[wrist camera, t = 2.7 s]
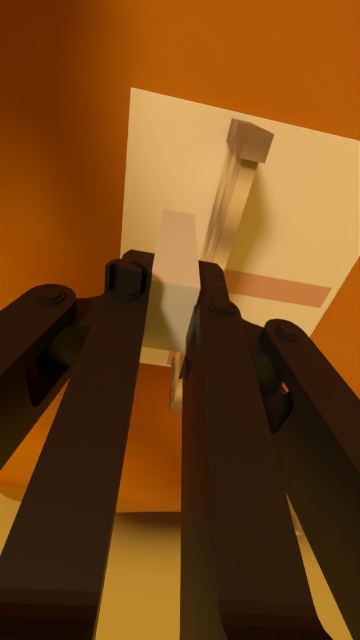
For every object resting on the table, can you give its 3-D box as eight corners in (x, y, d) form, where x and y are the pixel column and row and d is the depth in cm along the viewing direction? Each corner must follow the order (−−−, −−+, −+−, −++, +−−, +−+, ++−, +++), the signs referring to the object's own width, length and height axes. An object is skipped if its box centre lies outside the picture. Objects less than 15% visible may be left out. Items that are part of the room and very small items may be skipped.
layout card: (113, 357, 46) (113, 359, 46) (131, 87, 25) (130, 87, 25) (281, 379, 49) (281, 382, 49) (419, 154, 28) (421, 155, 28)
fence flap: (209, 270, 36) (215, 312, 29) (195, 267, 35) (197, 309, 29) (251, 122, 26) (274, 134, 20) (231, 118, 26) (248, 128, 19)
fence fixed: (192, 266, 36) (194, 312, 28) (211, 269, 36) (218, 316, 29) (169, 364, 47) (166, 416, 39) (183, 366, 47) (184, 418, 39)
